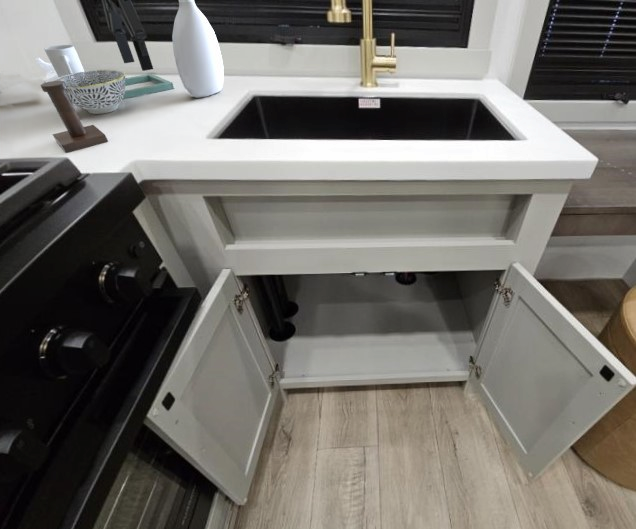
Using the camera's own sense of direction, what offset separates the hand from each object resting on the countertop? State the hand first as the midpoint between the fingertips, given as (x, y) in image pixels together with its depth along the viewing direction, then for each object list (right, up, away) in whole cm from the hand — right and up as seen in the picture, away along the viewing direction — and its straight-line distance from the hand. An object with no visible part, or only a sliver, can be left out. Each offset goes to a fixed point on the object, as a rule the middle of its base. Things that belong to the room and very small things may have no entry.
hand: (138, 66), depth 90 cm
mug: (-17, -8, +2) cm, 19 cm away
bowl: (-6, -15, -6) cm, 17 cm away
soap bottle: (+17, -6, +4) cm, 19 cm away
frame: (-5, -2, +9) cm, 10 cm away
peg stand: (0, -29, -21) cm, 36 cm away
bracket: (-32, +3, +14) cm, 35 cm away
